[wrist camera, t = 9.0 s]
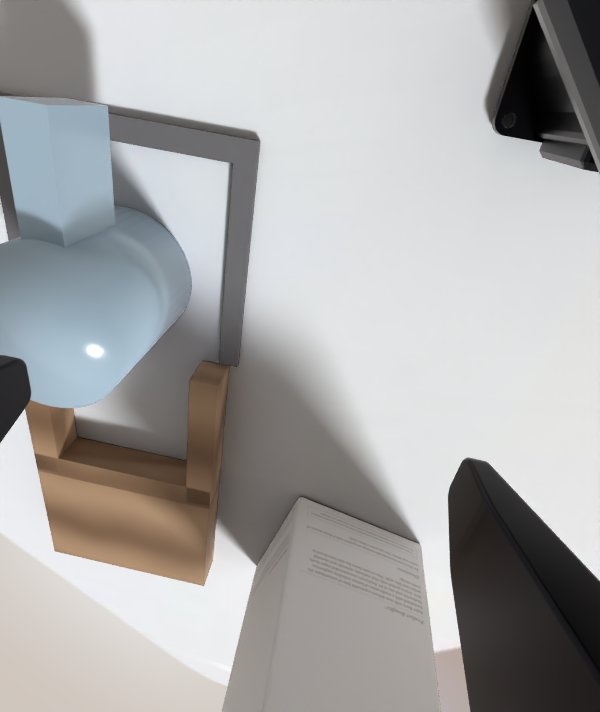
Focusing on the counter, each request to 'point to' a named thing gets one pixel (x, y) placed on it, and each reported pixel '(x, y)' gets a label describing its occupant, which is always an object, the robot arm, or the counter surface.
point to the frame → (241, 202)
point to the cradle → (135, 488)
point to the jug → (79, 257)
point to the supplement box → (335, 622)
